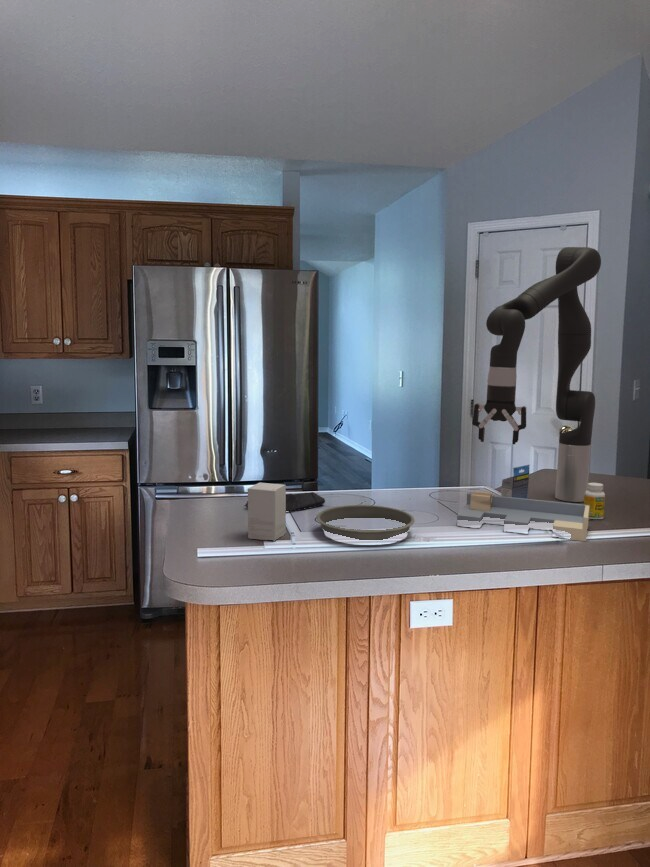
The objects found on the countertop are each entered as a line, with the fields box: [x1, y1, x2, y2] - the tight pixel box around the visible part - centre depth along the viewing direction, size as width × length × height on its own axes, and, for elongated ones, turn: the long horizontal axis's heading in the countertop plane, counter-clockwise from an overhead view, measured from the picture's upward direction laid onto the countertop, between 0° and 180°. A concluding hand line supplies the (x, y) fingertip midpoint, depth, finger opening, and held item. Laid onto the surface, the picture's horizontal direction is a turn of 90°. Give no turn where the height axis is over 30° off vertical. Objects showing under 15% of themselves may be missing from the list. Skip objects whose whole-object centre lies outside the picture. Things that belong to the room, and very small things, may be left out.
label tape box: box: [500, 464, 530, 499], centre depth 215 cm, size 9×4×12 cm, turn 135°
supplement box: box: [247, 482, 287, 541], centre depth 180 cm, size 7×7×13 cm
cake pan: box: [315, 504, 416, 540], centre depth 186 cm, size 25×25×4 cm
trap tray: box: [456, 492, 590, 542], centre depth 194 cm, size 14×32×6 cm, turn 69°
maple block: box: [470, 490, 493, 511], centre depth 200 cm, size 5×5×4 cm
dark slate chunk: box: [243, 491, 326, 512], centre depth 211 cm, size 15×22×5 cm
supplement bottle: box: [583, 482, 606, 520], centre depth 204 cm, size 5×5×10 cm
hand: (497, 442), depth 203 cm, fingers open, 8 cm apart
